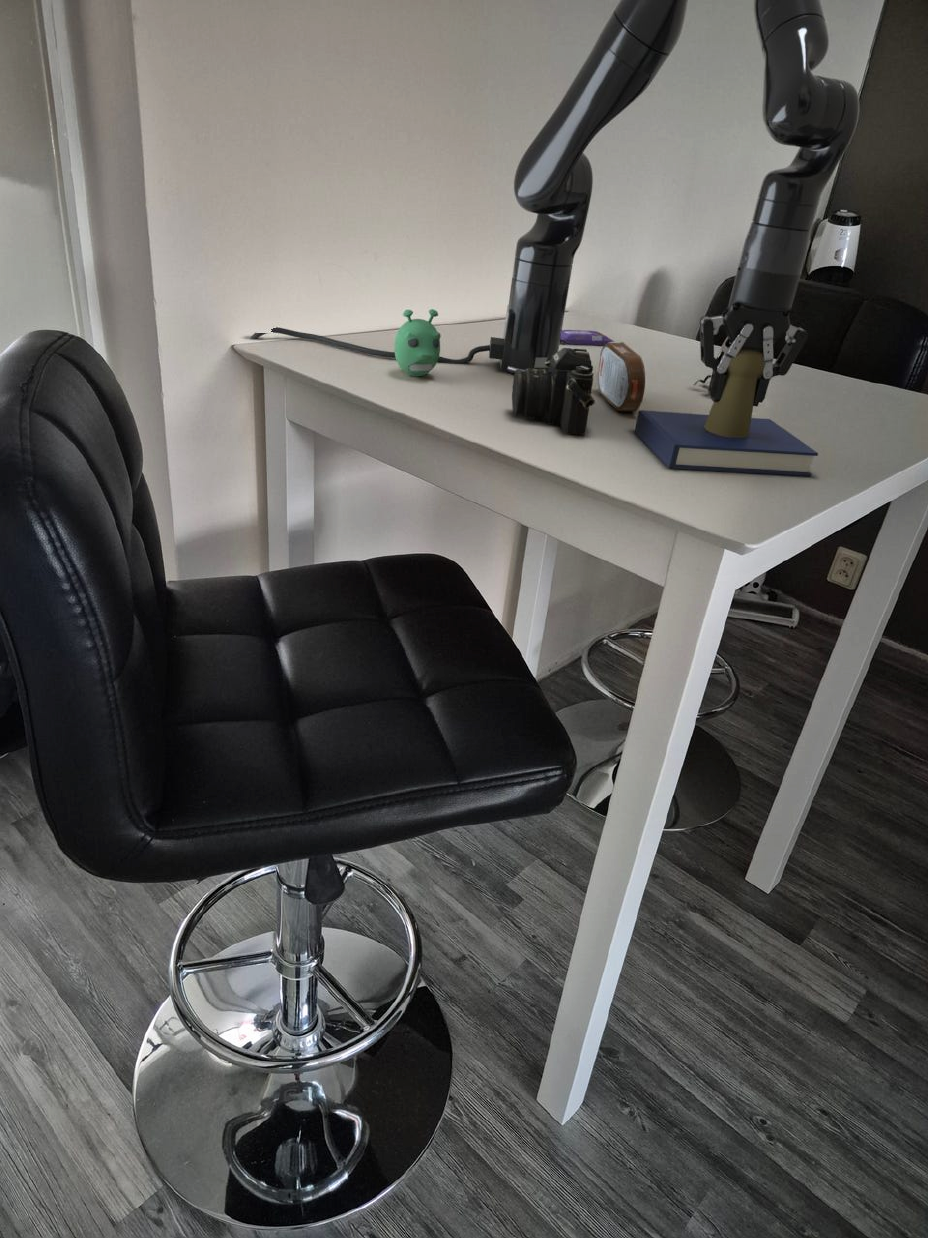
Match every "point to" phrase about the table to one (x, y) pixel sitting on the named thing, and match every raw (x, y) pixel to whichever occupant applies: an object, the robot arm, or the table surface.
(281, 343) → the table surface
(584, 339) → the snack package
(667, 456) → the book
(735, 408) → the cork
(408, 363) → the alien toy
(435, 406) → the table surface
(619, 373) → the tin
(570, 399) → the film camera
